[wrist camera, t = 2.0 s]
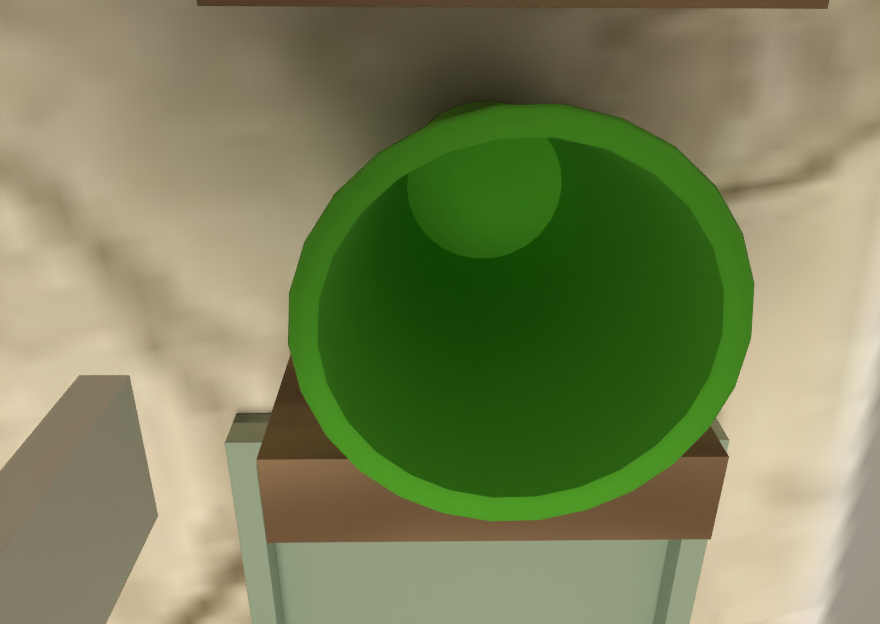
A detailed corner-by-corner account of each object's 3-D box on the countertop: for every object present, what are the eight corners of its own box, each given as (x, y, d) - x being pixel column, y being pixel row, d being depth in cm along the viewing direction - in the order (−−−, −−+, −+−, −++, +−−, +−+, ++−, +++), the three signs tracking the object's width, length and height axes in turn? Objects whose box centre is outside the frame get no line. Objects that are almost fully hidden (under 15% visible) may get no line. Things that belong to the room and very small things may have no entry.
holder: (252, -134, 20) (175, -168, 14) (730, -131, 20) (865, -162, 14) (302, 407, 28) (267, 542, 22) (647, 406, 28) (710, 539, 22)
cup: (650, 49, 22) (825, 134, 13) (592, 317, 26) (690, 539, 17) (351, 16, 22) (290, 78, 12) (337, 294, 26) (283, 511, 16)
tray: (236, 413, 28) (224, 442, 26) (711, 411, 28) (729, 439, 27) (275, 697, 35) (268, 733, 34) (655, 692, 35) (666, 728, 34)
